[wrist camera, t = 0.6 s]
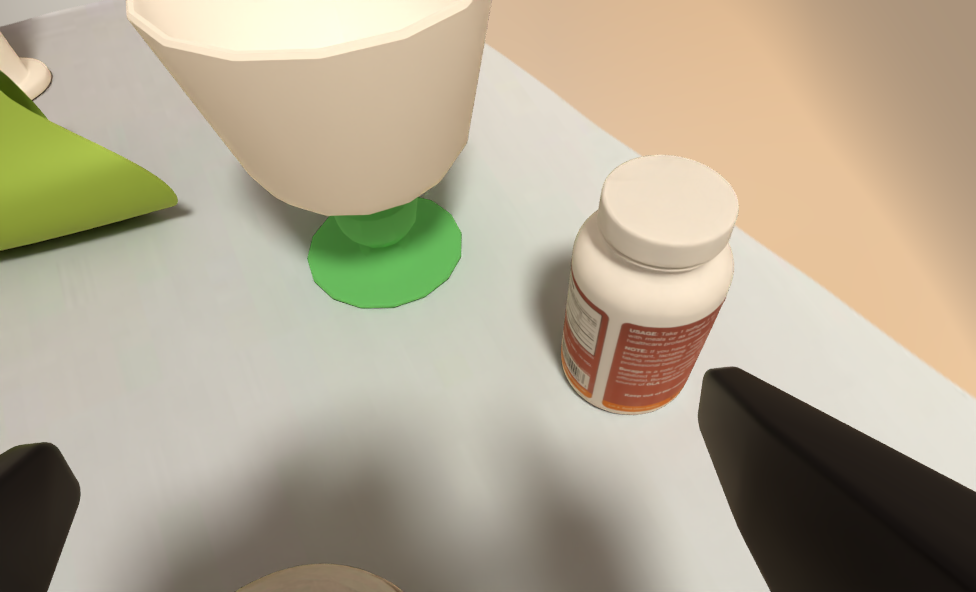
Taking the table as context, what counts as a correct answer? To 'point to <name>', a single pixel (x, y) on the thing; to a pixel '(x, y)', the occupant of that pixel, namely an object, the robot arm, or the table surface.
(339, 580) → the decorative object
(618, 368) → the pill bottle
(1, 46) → the candle
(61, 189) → the green curved piece
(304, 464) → the table surface
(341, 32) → the cup
